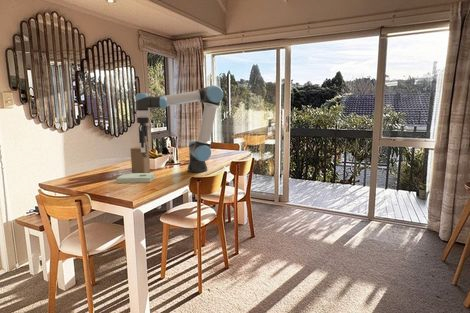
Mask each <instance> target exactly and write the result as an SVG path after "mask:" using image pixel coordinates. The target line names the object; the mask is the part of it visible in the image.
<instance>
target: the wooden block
mask: <svg viewBox="0 0 470 313" xmlns="http://www.w3.org/2000/svg"><path fill="white" fill-rule="evenodd" d="M129 151H130V164H131V173H151V165H150V149H149V146H147V157H142V153H141V145H140V146H139V145H137V146H134V147H130V150H129Z"/></svg>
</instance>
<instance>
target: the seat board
mask: <svg viewBox="0 0 470 313" xmlns="http://www.w3.org/2000/svg"><path fill="white" fill-rule="evenodd" d="M155 178H156V172H149V173H132V172H130V173H129V172H125V173H122V174H120V176H118V177H117V178H116V183H117V184H121V183H122V184H127V183H132V184H133V183H136V184H137V183H151V182H152V181H153V180H154V179H155Z"/></svg>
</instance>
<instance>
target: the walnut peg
mask: <svg viewBox="0 0 470 313" xmlns="http://www.w3.org/2000/svg"><path fill="white" fill-rule="evenodd" d="M144 143H145V152H141V153H142V157H147V147H148V142H147V136H145V139H144Z"/></svg>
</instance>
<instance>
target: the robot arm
mask: <svg viewBox="0 0 470 313" xmlns="http://www.w3.org/2000/svg"><path fill="white" fill-rule="evenodd" d="M223 99H224V92H223V89H222V88H221V87H220V86H218V85H213V84H212V85H209V86H206V87H203V88H197V89H196V90H195V91H188V92H182V93H181V92H180V93H173V94H167V95H166V94H165V95H160V96H159V95H158V96H149V94H148V93H146V92H145V93H144V92H141V93H139V92H138V93H136V95H135V106H136V107H135V108H136V112H135V113H136V123H137V124H139V127H138V136H139V142H138V143H139V144H140V146H141V152H145V143H144V139H145V136H147V143H148V142H149V139H148V138H149V137H148V134H149V133H148V125H147V124H149V123H150V118H149V115H150V113H149V109H166V108H167V107H169V106H177V105H183V104H189V103H196V102H198V104H200V103H202V104H203V105H204V108H203V112H202V119H201V123H200V128H199V131H198V137H197V139H195V140H194V141H189V143H188V152H189V154H188V155H189V162H188V165H187V172H189V173H196V174H197V173H204V172H207V171H208V165H207V163H206V161H207V160H209V159H210V158H211V156H212V149H211V146H212V142H211V138H212V132H213V128H214V122H215V118H216V113H217V109H218V108H219V107H220V104H221V101H222V100H223Z"/></svg>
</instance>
